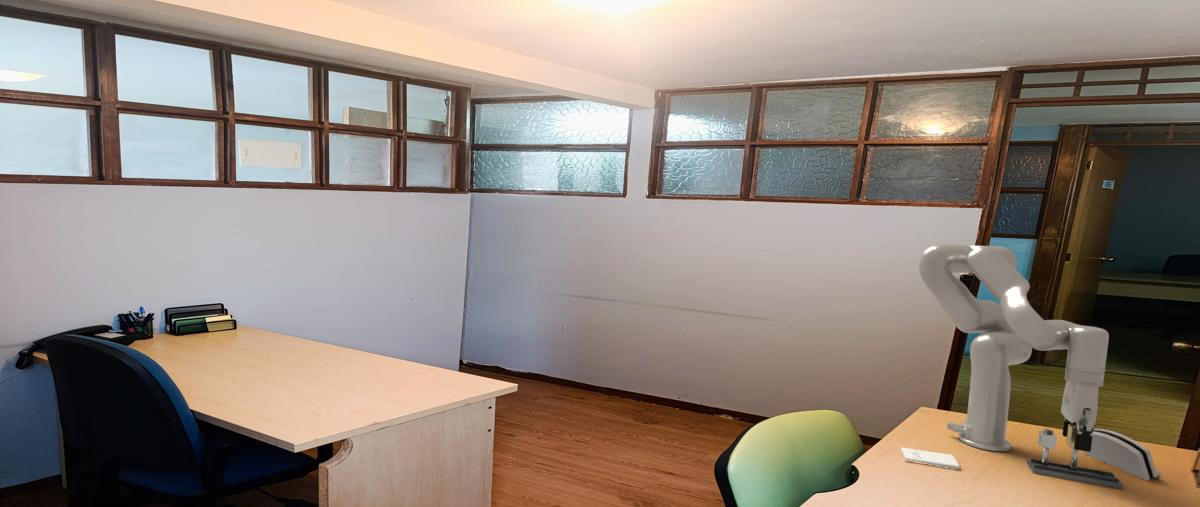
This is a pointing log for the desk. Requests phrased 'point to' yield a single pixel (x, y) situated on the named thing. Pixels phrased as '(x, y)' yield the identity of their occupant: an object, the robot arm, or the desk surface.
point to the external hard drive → (930, 458)
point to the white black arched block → (1122, 453)
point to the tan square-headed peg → (1072, 444)
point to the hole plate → (1068, 466)
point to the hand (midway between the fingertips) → (1075, 443)
